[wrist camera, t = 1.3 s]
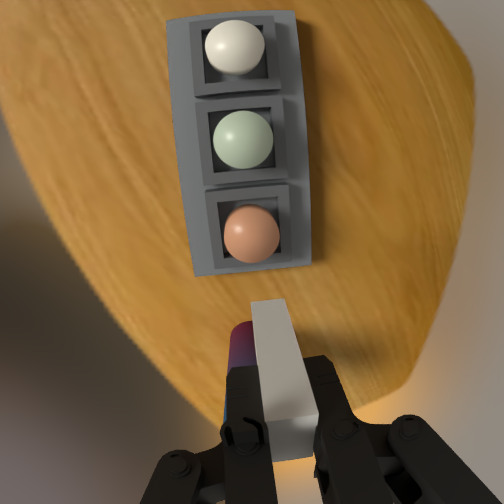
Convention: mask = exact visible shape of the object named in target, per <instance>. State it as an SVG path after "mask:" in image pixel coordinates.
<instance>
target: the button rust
mask: <svg viewBox="0 0 504 504" xmlns="http://www.w3.org/2000/svg"><path fill="white" fill-rule="evenodd" d="M279 239H280V234H279V229H278V226H277V224H276V222H275V220H274V218H273V216H272V214H271V213H270V212H269V211H268V210H267V209H266V208H264V207H262V206H260V205H257V204H244V205H241V206H239V207H237V208H235V209H234V210H233V211H232V212H231V213H230V214H229V216H228V217H227V220H226V223H225V231H224V241H225V245H226V248H227V250H228V251H229V253H230V254H231V255H232V256H233V257H234V258H236V259H238V260H240V261H242V262H246V263H256V262H260V261H263V260H265V259H267V258H268V257H270V256H271V255H272V254H273V253H274V251H275V250H276V248H277V246H278V243H279Z"/></svg>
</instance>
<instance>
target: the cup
mask: <svg viewBox="0 0 504 504" xmlns="http://www.w3.org/2000/svg"><path fill="white" fill-rule="evenodd" d="M251 365H257V358H256V349H255V340H254V330H253V321H247V322H243V323H241V324H239V325H237V326H236V327H235V328H234V329H233V331H232V333H231V337H230V348H229V360H228V371H227V375H228V373H229V371H230V369H231V368H232V367H240V366H251ZM226 399H227V398H226V395H225V408H224V420H223V424H224V422H225V421H226Z"/></svg>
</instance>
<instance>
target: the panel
mask: <svg viewBox="0 0 504 504" xmlns="http://www.w3.org/2000/svg"><path fill="white" fill-rule="evenodd" d="M230 20H241V21H245V22H248V23H250V24H252V25H254V26H255V27H256V28H257V29H258V30H259V31H260V32H261V34H262V36H263V38H264V43H265V46H264V51H263V54H262V57H261V59H260V61H259V63H258V65H257V66H256V67H255V68H254V69H253V70H252V71H250V72H248V73H246V74H244V75H240V76H228V75H224V74H222V73H220V72H218V71H216V70H215V69H214V68H213V67H212V66H211V64H210V62H209V60H208V57H207V54H206V50H205V41H206V38H207V36H208V34H209V32H210V31H211V30H212V29H213V28H214V27H215V26H217V25H218V24H220V23H223V22H225V21H230ZM166 29H167V50H168V67H169V81H170V94H171V105H172V116H173V126H174V136H175V145H176V153H177V162H178V170H179V178H180V185H181V193H182V200H183V207H184V214H185V220H186V227H187V233H188V239H189V245H190V251H191V257H192V263H193V269H194V274H195V277H198V276H208V275H218V274H229V273H239V272H248V271H258V270H268V269H277V268H286V267H295V266H304V265H311V206H310V179H309V158H308V141H307V126H306V113H305V101H304V89H303V79H302V69H301V60H300V51H299V42H298V34H297V27H296V19H295V12H294V11H291V10H258V11H237V12H224V13H214V14H205V15H198V16H191V17H184V18H179V19H173V20H168V21H166ZM237 111H250V112H254V113H256V114H258V115H260V116H261V117H263V118H264V119H265V120H266V121H267V123H268V124H269V126H270V128H271V130H272V133H273V146H272V149H271V152H270V153H269V155H268V157H267V158H266V159H265V160H264V161H263V162H262V163H260V164H259V165H257V166H254V167H251V168H246V169H240V168H235V167H232V166H230V165H228V164H226V163H225V162H223V161H222V160H221V159H220V157H219V156H218V155H217V153H216V151H215V148H214V143H213V137H214V132H215V129H216V127H217V125H218V124H219V122H220V121H221V120H222V119H223V118H224V117H226V116H227V115H229V114H231V113H233V112H237ZM244 204H257V205H260V206H262V207H264V208H266V209H267V210H268V211H269V212H270V213H271V214H272V216H273V218H274V220H275V222H276V224H277V226H278V229H279V234H280V239H279V243H278V246H277V248H276V250H275V251H274V253H273V254H272V255H271V256H270V257H268V258H267V259H265V260H263V261H260V262H256V263H246V262H242V261H240V260H238V259H236V258H234V257H233V256H232V255H231V254H230V253H229V251H228V250H227V248H226V245H225V241H224V231H225V223H226V220H227V217H228V216H229V214H230V213H231V212H232V211H233V210H234V209H235V208H237V207H239V206H241V205H244Z"/></svg>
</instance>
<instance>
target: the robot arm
mask: <svg viewBox="0 0 504 504" xmlns="http://www.w3.org/2000/svg"><path fill="white" fill-rule="evenodd" d="M251 310H252V320H253V330H254V340H255V349H256V358H257V365H251V366H240V367H232V368H231V369H230V371H229V373H228V375H227V377H226V398H227V399H226V421H225V422H224V424H223V425H222V426H221V430H220V436H221V439H222V442H221V443H220V444H219V445H217V446H216V447H214V448H212V449H209V450H206V451H203V452H200V453H196V454H194V453H192V452H189V451H187V450H174V451H170V452H168V453H166V454H165V455H163V456H162V458H161V459H160V460H159V462H158V464H157V466H156V468H155V470H154V473H153V475H152V477H151V479H150V482H149V484H148V486H147V488H146V491H145V493H144V495H143V497H142V500H141V502H140V504H216V502H219V501H223V500H225V504H278V500H277V494H276V486H275V479H274V472H273V465H272V462H279V461H286V460H293V459H299V458H306V457H311V456H313V452H314V455H315V459H316V465H315V470H314V478H317V479H318V483H319V488H320V492H321V496H322V501H323V504H393V503H394V504H502V503H501V502H500V501H499V500H498V499H497V498H496V496H495V495H494V494H493V493H492V492H491V491H490V490H489V489H488V488H487V487H486V486H485V484H484V483H483V482H482V481H481V480H480V479H479V478H478V477H477V476H476V475H475V474H474V473H473V472H472V471H471V469H470V468H469V467H468V466H467V465H466V464H465V463H464V462H463V461H462V460H461V459H460V458H459V457H458V455H457V454H456V453H455V452H454V451H453V450H452V449H451V448H450V447H449V446H448V445H447V444H446V443H445V442H444V440H442V438H441V437H440V436H439V435H438V434H437V433H436V432H435V431H434V430H433V429H432V428H431V427H430V426H429V425H428V424H427V423H426V421H424V420H423V419H422V418H421V417H419V416H415V415H403V416H400V417H398V418H397V419H396V420H394V421H393V422H392V424H369V423H366V422H363V421H361V420H359V419H358V418H357V417H356V416H355V415H354V414H353V412H352V410H351V408H350V405H349V403H348V400H347V398H346V395H345V392H344V390H343V387H342V385H341V383H340V380H339V378H338V375H337V373H336V370H335V368H334V365H333V363H332V362H331V361H330V360H329V359H328V358H327V357H326V356H324V355H320V356H314V357H308V358H302V355H301V352H300V349H299V345H298V342H297V339H296V336H295V332H294V329H293V326H292V323H291V319H290V316H289V313H288V310H287V306H286V303H285V300H284V298H283V299H275V300H266V301H256V302H251Z"/></svg>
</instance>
